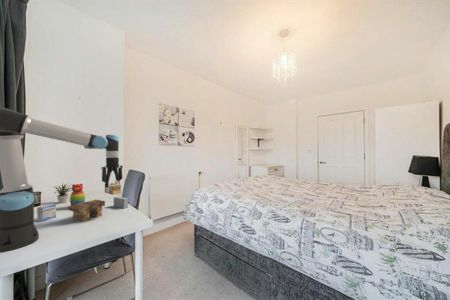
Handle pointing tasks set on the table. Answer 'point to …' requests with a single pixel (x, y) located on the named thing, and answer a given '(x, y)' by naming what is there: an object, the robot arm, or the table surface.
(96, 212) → the bed
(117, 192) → the skid
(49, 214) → the medicine box
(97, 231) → the table surface
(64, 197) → the house plant
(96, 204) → the slab
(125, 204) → the block
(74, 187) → the stacking bear
